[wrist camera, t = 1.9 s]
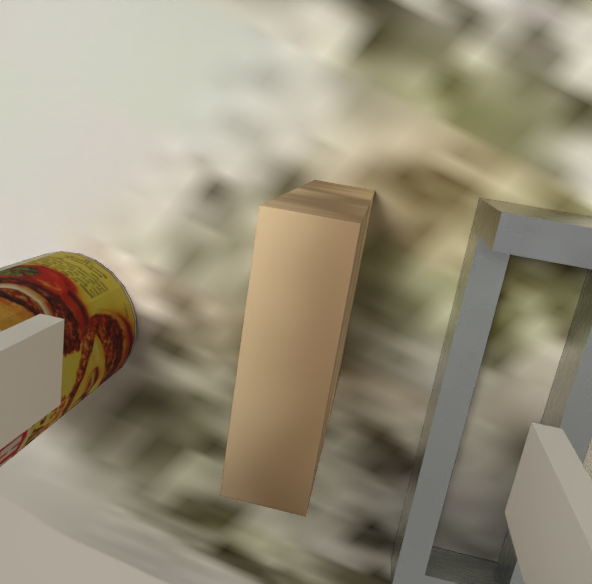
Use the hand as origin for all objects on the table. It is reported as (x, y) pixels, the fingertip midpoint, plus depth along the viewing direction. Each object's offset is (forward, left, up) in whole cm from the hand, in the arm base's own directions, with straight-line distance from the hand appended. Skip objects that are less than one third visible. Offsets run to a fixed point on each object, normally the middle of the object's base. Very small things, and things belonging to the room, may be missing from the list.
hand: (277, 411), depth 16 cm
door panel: (0, 0, -14) cm, 14 cm away
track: (+10, -5, -14) cm, 18 cm away
